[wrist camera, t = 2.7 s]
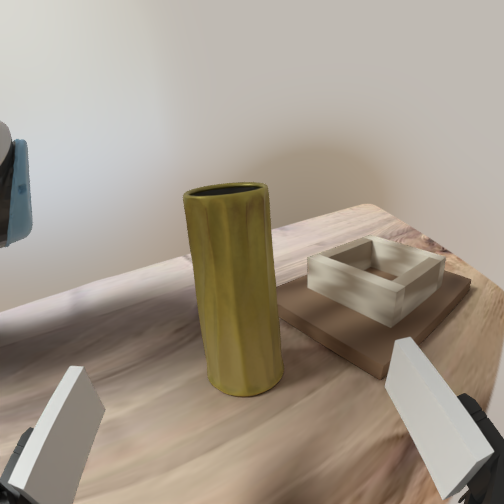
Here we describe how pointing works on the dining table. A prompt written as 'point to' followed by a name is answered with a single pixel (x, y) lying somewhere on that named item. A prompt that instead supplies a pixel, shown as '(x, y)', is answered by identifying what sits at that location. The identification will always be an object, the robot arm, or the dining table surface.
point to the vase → (235, 285)
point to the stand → (370, 299)
